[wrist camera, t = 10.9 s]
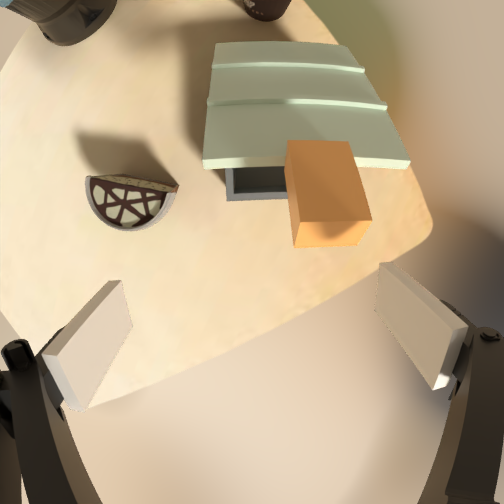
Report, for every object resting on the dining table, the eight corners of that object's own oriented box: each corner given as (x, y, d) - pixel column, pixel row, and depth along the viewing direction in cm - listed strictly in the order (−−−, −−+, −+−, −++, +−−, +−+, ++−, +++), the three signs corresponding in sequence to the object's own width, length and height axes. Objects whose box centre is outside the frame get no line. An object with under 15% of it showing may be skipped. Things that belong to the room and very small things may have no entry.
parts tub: (226, 73, 38) (220, 50, 28) (321, 74, 38) (340, 52, 28) (231, 192, 43) (226, 201, 33) (326, 190, 43) (347, 198, 33)
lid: (216, 53, 28) (214, 32, 26) (344, 56, 28) (348, 35, 26) (201, 252, 18) (191, 226, 15) (427, 242, 18) (449, 220, 15)
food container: (108, 210, 43) (76, 223, 33) (114, 172, 41) (82, 176, 32) (180, 226, 44) (163, 244, 35) (188, 186, 42) (172, 194, 33)
